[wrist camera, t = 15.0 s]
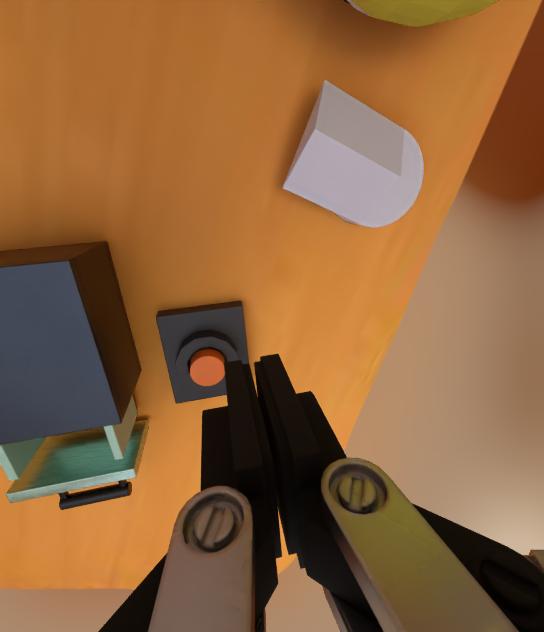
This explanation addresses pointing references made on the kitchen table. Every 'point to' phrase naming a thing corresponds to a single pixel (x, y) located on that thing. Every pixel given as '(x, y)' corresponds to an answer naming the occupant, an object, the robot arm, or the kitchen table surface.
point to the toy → (419, 10)
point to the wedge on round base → (356, 162)
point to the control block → (201, 344)
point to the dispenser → (62, 342)
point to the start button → (207, 367)
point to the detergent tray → (77, 463)
